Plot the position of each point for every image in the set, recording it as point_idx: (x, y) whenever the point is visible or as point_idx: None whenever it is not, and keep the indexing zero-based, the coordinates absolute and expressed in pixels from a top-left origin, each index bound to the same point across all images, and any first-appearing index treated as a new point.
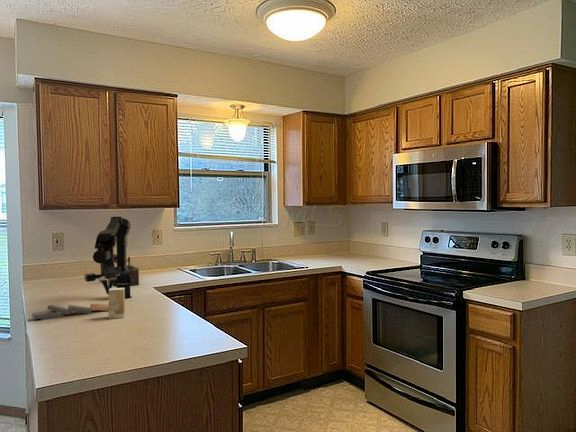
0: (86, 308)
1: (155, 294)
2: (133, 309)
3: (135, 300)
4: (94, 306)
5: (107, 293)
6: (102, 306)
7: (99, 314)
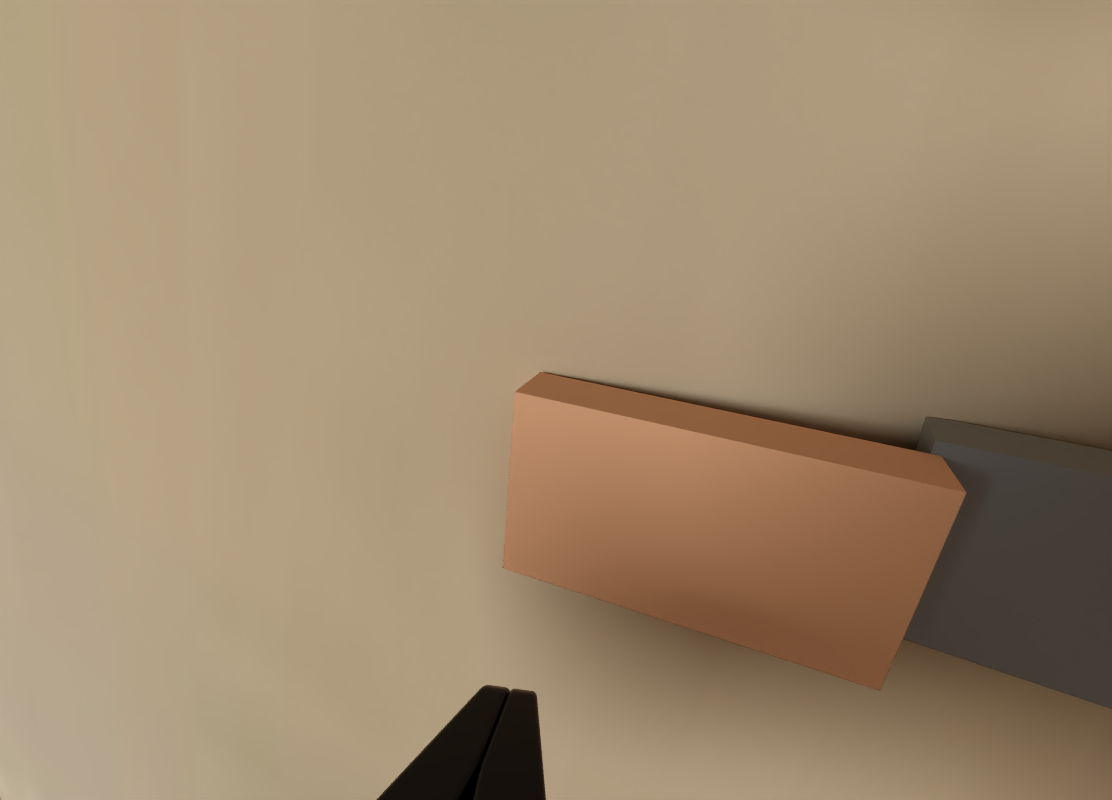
0: (1003, 562)
1: (23, 797)
2: (225, 238)
3: (204, 716)
4: (888, 476)
5: (529, 712)
6: (704, 459)
7: (817, 232)
